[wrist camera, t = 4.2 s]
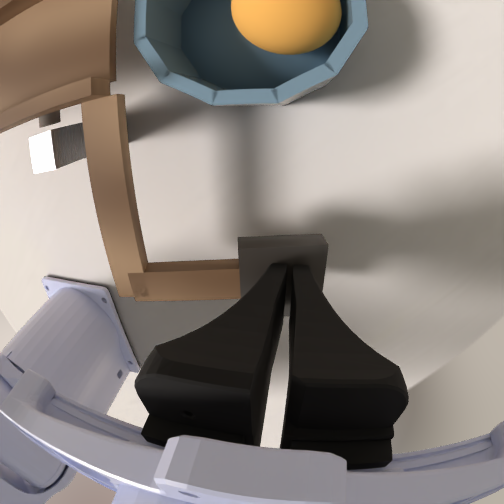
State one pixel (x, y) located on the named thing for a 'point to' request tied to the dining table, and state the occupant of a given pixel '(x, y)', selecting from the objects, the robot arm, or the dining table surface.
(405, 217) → the dining table surface
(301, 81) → the cup
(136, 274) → the tipping chute
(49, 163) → the chute stand
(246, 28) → the ball
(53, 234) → the dining table surface
